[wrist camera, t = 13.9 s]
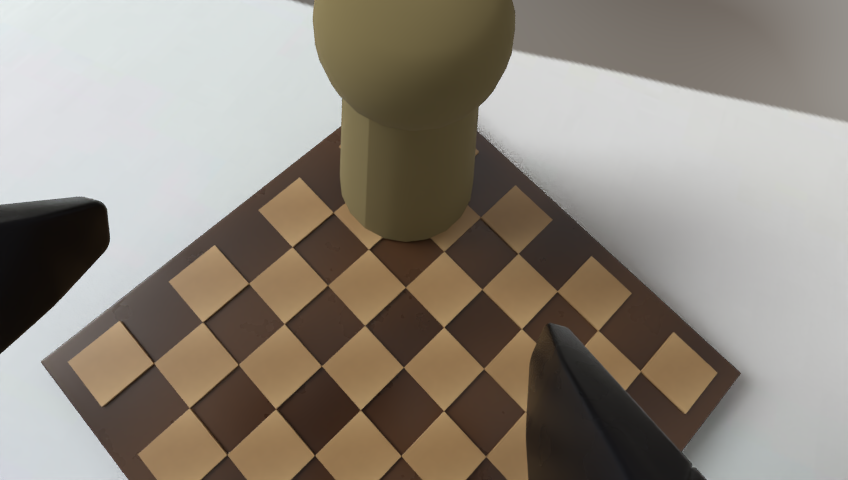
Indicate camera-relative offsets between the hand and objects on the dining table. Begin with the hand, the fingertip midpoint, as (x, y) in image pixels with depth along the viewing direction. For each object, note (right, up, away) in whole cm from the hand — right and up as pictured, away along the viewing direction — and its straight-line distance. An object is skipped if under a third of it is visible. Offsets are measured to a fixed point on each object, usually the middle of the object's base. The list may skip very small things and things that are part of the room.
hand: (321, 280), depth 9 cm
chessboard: (+1, -5, +11) cm, 12 cm away
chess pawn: (+1, +4, +12) cm, 13 cm away
